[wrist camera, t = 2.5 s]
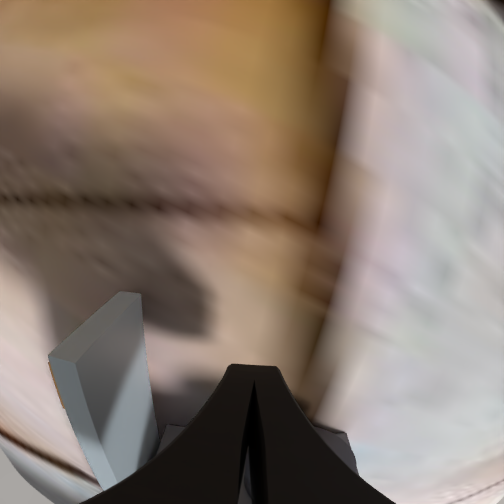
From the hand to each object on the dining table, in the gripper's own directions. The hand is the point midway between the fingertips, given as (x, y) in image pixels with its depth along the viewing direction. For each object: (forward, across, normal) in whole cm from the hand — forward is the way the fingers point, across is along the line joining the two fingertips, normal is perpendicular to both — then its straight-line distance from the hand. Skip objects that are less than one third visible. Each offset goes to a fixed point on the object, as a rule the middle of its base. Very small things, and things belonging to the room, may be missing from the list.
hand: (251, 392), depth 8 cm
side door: (+2, +5, +7) cm, 9 cm away
